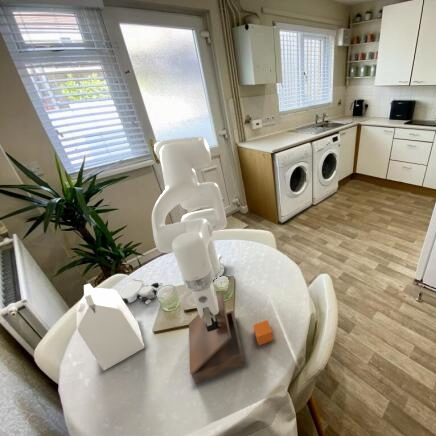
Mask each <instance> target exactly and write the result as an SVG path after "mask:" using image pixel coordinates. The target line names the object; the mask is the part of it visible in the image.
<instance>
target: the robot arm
mask: <svg viewBox="0 0 436 436" xmlns="http://www.w3.org/2000/svg"><path fill="white" fill-rule="evenodd" d="M153 149H154V153H155V155H156V157H157V159H158V160H159V161H160V166H161V171H162V177H163V183H164V191H163V192H162V194H160V196H159V197H158V199H157V200H156V202H155V204H154V206H153V209H152V212H151V228H152V235H153V240H154V244H155V247H156V249H157V250H158V251H159V252H160V253H163V254H170V253H173V255H174V257H175V260H176V264H177V266H178V269H179V272H180V276H181V277H182V281H183V283H184V286H185V289H187V290H189V291H191V293H192V297H193V301H194V304H195V307H196V310H197V312H198V314H199V315H200V317H201V318H202V319H203V318H204V320H205V325H206V328H207V331H208V332H210V331H213V330H216V329H218V328H219V325H218V322H217V318H215V315H216V314H218V312H219V309H218V302H217V296H218V294H217V292H216V287H215V284H214V281H213V280H214V279H215V278H217V277H218V276H221V277H222V276H223V274H224V273H225V267H224V265H223V264H222V263H221V260H222V259H223V257H224V256H223V254H219V255H218V253H217V249H216V245H215V241H214V238H213V232H217V231H221V230H224V229H225V228H226V227H227V225H228V220H227V214H226V210H225V205H224V201H223V195H222V192H221V189H220V187H219V185H218V183H216V182H215V181H205V182H199V181H198V176H197V172H196V170H195V169H202V168H206V167H210V166H211V164H212V154H211V153H212V152H211V149H210V146H209V144H208V141H207V140H206V138H205V137H203V136H191V137H190V136H189V137H181V138H171V139H165V140H161V141H158V142H156V143H155V144H154V147H153ZM178 205H180V207H181V208H182V209H184V210H196V211H190V212H188V213H186V214H184V215H183V216H182V217H181V218H180V221H178V222H173V223H168V224H166V218H167V216H168V214H169V213H170V212H171V211H172V210H173V209H174V208H176V207H177V206H178ZM207 207H211V208H207ZM202 208H207V209H202ZM197 209H201V210H197ZM210 315H212V316H213V318H211V316H210Z"/></svg>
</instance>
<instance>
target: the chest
mask: <svg viewBox="0 0 436 436" xmlns="http://www.w3.org/2000/svg"><path fill="white" fill-rule="evenodd" d="M226 314H227V319H228V324H229V329H230V335H231V339H230V340H228V341H227V342H226V343H225V344H224V345H223V346H222V347H221V348H220V349H219V350H218V351H217V352H216V353H215V354H214V355H213V356H212V357H210V358H209V359H208V360H207V361H206V362H205V363H204V364H203V365H202V366H201V367H200V368H199V369H198V370H197V371H196V372H195V373H194V374H192V375H191V378H192V380H193V382H194V384H195V385H197V384H200V383H201V382H204V381H206V380H209V379H212V378H214V377H217V376H219V375H221V374H224V373H227V372H229V371H231V370H235V369H236V368H240V367H241V366H243V365H246V361H245V357H244V352H243V347H242V343H241V338H240V333H239V330H238V326H237V325H238V324H237V321H236V317H235V312H234V310H231V311H226Z"/></svg>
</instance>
